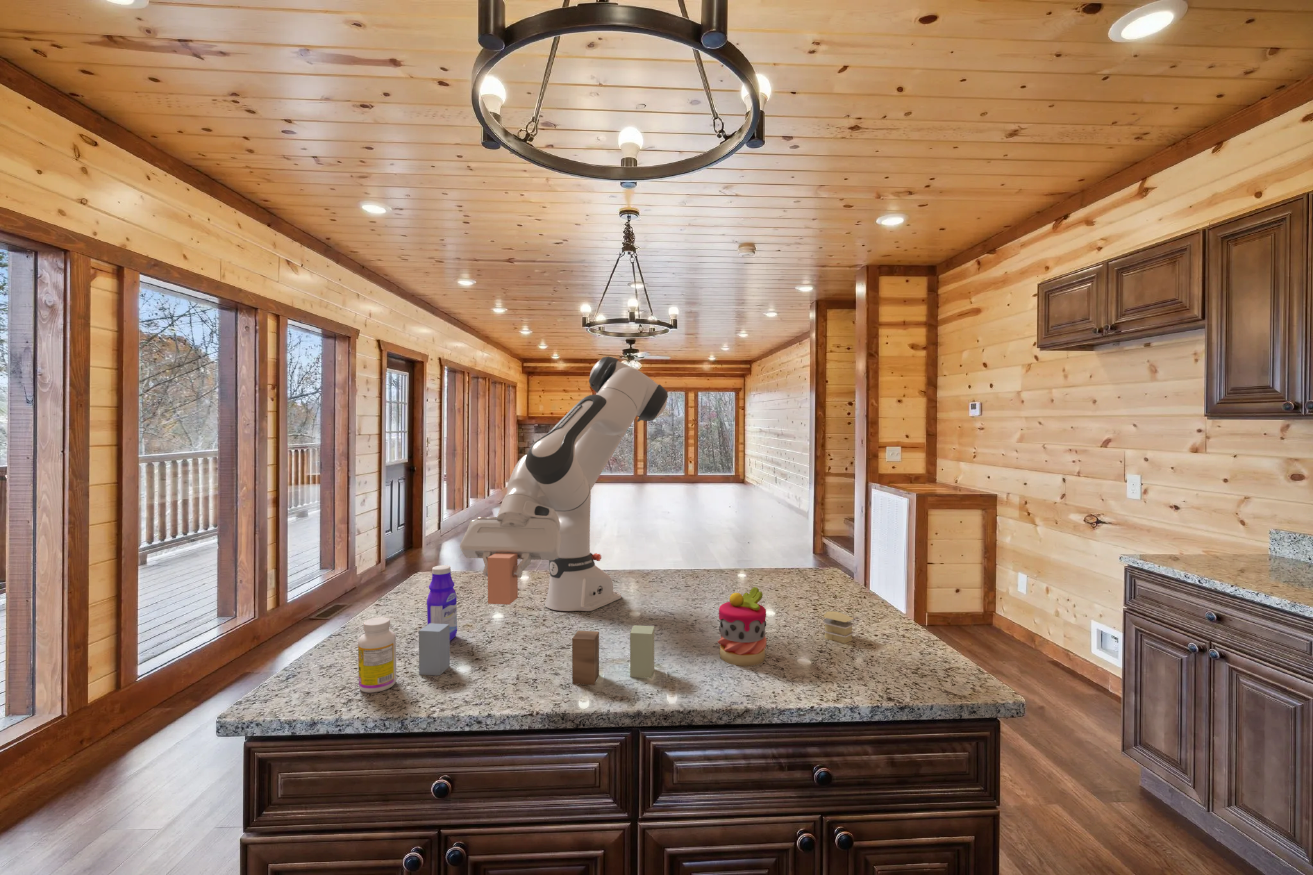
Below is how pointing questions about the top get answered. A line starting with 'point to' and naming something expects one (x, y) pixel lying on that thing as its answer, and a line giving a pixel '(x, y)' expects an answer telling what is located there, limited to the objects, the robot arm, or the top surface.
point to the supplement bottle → (377, 656)
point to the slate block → (434, 649)
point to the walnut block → (585, 657)
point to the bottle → (442, 599)
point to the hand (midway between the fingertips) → (501, 575)
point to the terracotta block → (502, 578)
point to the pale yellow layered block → (838, 627)
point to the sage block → (642, 651)
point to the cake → (743, 629)
